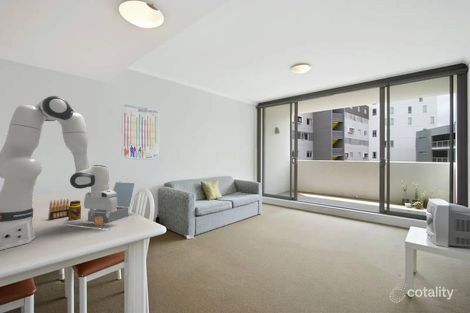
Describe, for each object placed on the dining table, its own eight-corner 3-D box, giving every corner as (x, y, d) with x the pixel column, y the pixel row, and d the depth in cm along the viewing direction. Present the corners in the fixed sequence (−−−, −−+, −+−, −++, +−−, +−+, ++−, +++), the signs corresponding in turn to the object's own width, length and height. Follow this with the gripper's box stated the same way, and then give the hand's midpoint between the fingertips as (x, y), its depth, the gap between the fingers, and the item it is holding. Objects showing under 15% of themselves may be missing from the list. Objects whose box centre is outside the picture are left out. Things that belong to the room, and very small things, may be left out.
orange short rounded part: (113, 217, 137) (113, 209, 137) (108, 217, 138) (108, 209, 138) (118, 216, 141) (118, 208, 141) (113, 215, 142) (113, 208, 142)
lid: (133, 183, 146) (135, 183, 148) (115, 182, 150) (117, 182, 152) (128, 207, 142) (130, 207, 143) (110, 205, 146) (112, 205, 147)
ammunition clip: (49, 220, 132) (50, 200, 132) (48, 220, 133) (48, 200, 133) (69, 216, 142) (70, 198, 142) (68, 216, 142) (68, 198, 143)
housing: (108, 224, 126) (108, 213, 126) (87, 222, 130) (88, 211, 130) (128, 217, 142) (128, 207, 142) (109, 215, 145) (109, 206, 146)
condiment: (77, 222, 130) (77, 202, 130) (61, 222, 129) (62, 202, 129) (83, 218, 137) (84, 199, 137) (69, 219, 136) (70, 200, 136)
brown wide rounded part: (98, 227, 120) (98, 218, 121) (92, 226, 121) (92, 217, 122) (104, 225, 124) (104, 216, 124) (98, 224, 125) (99, 216, 125)
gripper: (80, 193, 123) (80, 217, 124) (110, 194, 119) (110, 219, 119) (90, 191, 130) (90, 214, 130) (119, 192, 125) (119, 216, 125)
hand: (100, 216), depth 124 cm, fingers open, 8 cm apart
